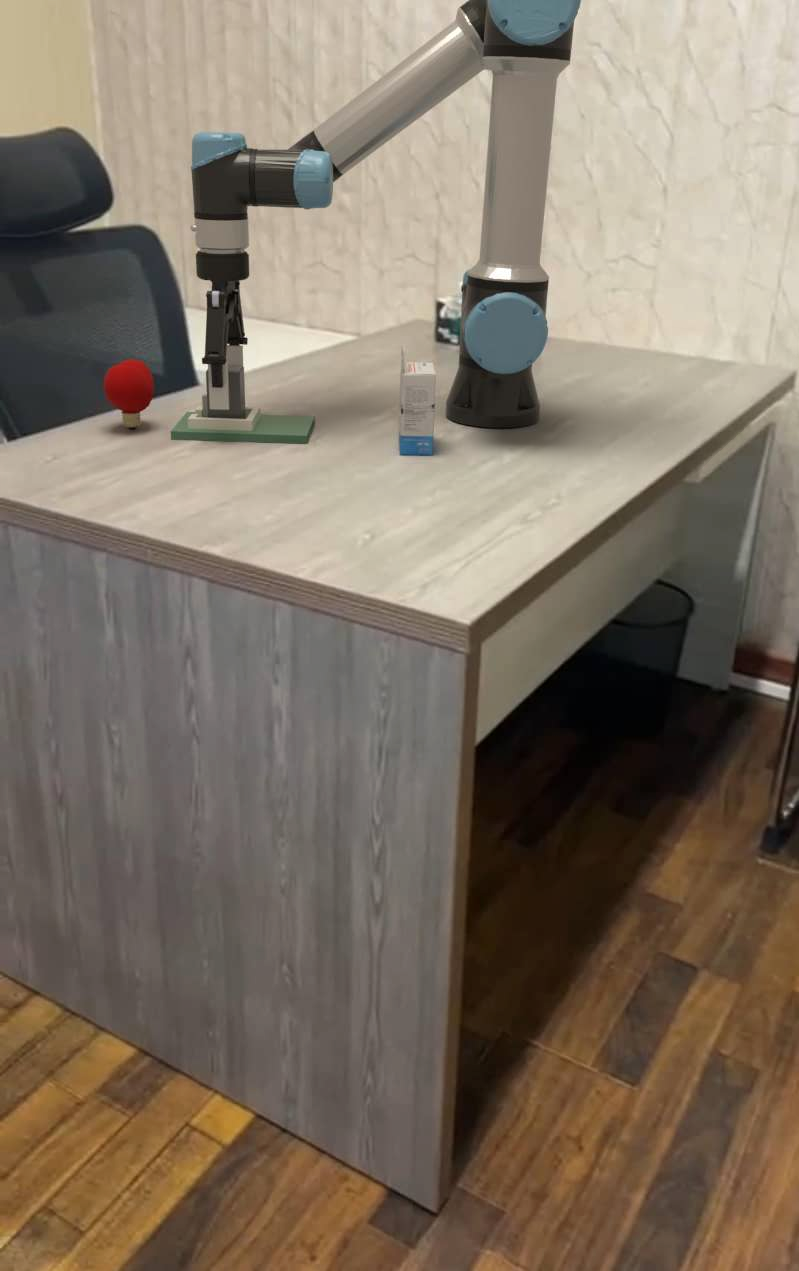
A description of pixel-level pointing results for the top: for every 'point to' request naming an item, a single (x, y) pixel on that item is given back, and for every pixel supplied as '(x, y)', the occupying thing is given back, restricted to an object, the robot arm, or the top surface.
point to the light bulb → (129, 390)
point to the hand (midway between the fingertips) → (227, 398)
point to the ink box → (416, 407)
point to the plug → (235, 396)
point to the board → (245, 427)
